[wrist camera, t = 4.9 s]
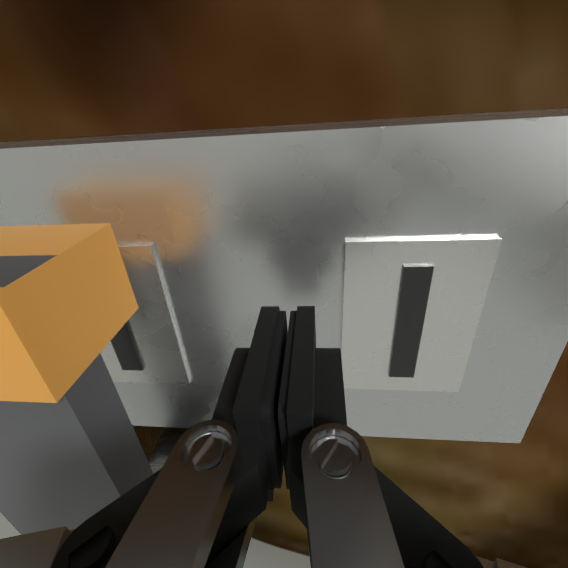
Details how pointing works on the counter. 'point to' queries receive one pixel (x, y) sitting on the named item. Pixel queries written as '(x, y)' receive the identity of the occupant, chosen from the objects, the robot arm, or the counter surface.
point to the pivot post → (165, 447)
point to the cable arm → (62, 376)
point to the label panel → (330, 258)
